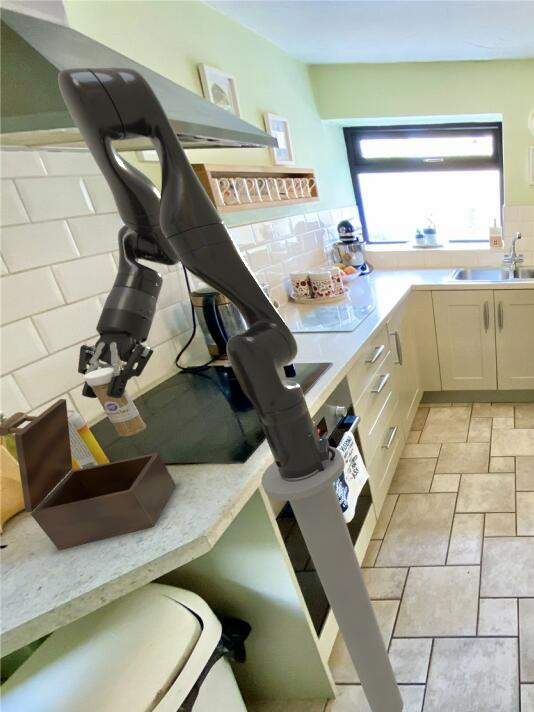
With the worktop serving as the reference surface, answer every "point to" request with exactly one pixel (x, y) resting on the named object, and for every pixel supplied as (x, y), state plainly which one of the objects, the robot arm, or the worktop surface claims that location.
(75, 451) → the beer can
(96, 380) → the sprinkles bottle
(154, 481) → the chest
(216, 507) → the worktop surface
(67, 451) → the chest lid
